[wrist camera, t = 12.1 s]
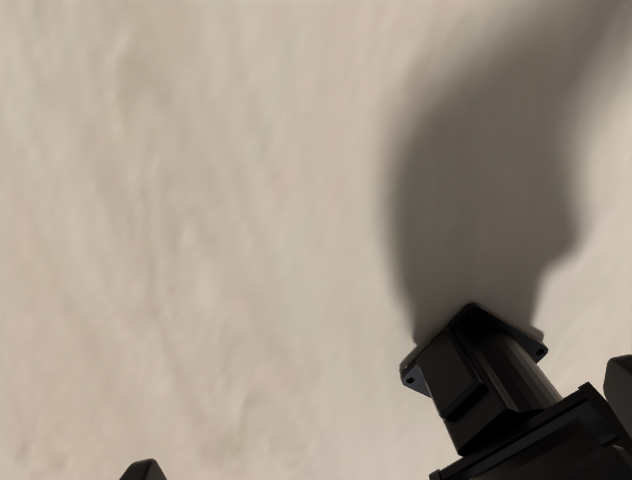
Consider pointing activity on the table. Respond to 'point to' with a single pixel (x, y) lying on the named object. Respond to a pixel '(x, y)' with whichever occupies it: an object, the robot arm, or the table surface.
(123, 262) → the table surface
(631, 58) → the table surface
